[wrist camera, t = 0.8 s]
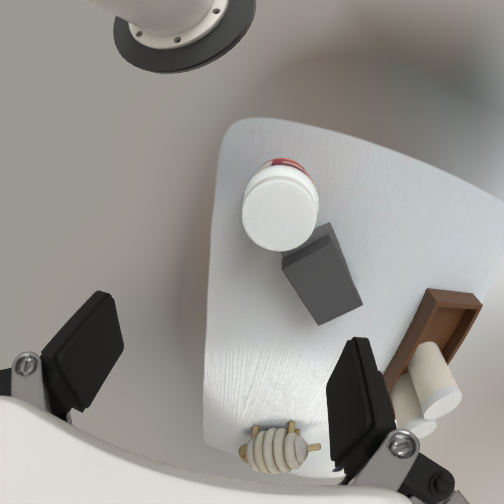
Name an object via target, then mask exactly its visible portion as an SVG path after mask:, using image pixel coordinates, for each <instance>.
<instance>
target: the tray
mask: <svg viewBox="0 0 504 504" xmlns="http://www.w3.org/2000/svg"><path fill="white" fill-rule="evenodd" d="M482 306H483V305H482V304H481V303H480V301H479V300H478V299H477V298H476V297H475V296H474V294H471V293H463V292H454V291H445V290H437V289H429V288H427V290H426V293H425V295H424V297H423V299H422V302H421V304H420V306H419V308H418V311H417V313H416V315H415V317H414V319H413V321H412V323H411V325H410V327H409V329H408V331H407V333H406V335H405V337H404V339H403V341H402V343H401V345H400V346H399V348H398V350H397V352H396V354H395V355H394V357H393V359H392V361H391V362H390V364H389V366H388V367H387V369H386V371H385V372H384V374H383V378H384V381H385V385H386V388H387V392H388V396H389V399H390V403H391V407H392V411H393V415H394V419H396V416H395V412H394V408H393V405H392V401H391V397H390V393H389V391H390V390H391V388H392V387H393V385H394V384H395V383H396V381H397V380H398V378H399V377H400V375H401V374H404V373H407V372H409V370H408V368H407V364H408V362H409V361H410V359H411V357H412V356H413V354H414V352H415V351H416V349H417V347H418V345H420V344H422V343H424V342H434V343H436V344H437V346H438V348H439V350H440V352H441V354H442V356H443V358H444V360H445V362H446V364H447V366H448V364H449V362H450V361H451V360H452V358H453V357H454V355H455V353H456V352H457V350H458V349H459V347H460V346H461V344H462V342H463V341H464V339H465V337H466V336H467V334H468V332H469V330H470V329H471V327H472V325H473V323H474V321H475V320H476V318H477V316H478V314H479V312H480V310H481V308H482Z"/></svg>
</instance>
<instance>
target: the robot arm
mask: <svg viewBox="0 0 504 504" xmlns="http://www.w3.org/2000/svg"><path fill="white" fill-rule="evenodd" d="M85 1H87V2H89V3H91V4H94V5H96V6H98V7H100V8H102V9H104V10H106V11H108V12H110V13H112V14H114V15H116V16H118V17H120V18H122V19H124V20H126V21H127V22H128V23H129V29H130V31H131V34H132V35H133V37H134V38H135V39H136V40H137V41H138V42H140V43H141V44H143V45H145V46H147V47H150V48H153V49H160V50H168V49H176V48H180V47H184V46H186V45H189V44H191V43H194V42H195V41H197V40H199V39H201V38H203V37H204V36H205V35H207V34H208V33H209V32H211V31H212V30H213V29H214V28H215V27H216V26H217V25H218V24H219V22H220V21H221V20H222V18H223V17H224V15H225V13H226V11H227V8H228V4H229V0H85ZM216 13H218V14H216ZM180 40H181V41H180ZM179 41H180V42H179ZM178 42H179V43H178ZM123 349H124V343H123V339H122V334H121V330H120V326H119V321H118V316H117V311H116V306H115V301H114V299H113V298H112V296H111V295H110V294H109V293H106V292H102V291H96V292H95V293H94V294H93V295H92V296H91V297H90V298H89V299H88V300H87V301H86V302H85V303H84V304H83V306H82V307H81V308H80V309H79V310H78V311H77V312H76V313H75V314H74V315H73V316H72V317H71V318H70V319H69V320H68V322H67V323H66V324H65V325H64V326H63V327H62V328H61V330H60V331H59V332H58V333H57V334H56V335H55V336H54V337H53V339H52V340H51V341H50V342H49V343H48V344H47V345H46V347H45V348H44V349H43V350H42V351H41V353H42V355H41V356H40V357H39V356H38V355H37V354H36V353H34V352H24V353H21V354H20V355H18V356H17V357H16V358H15V360H14V362H13V364H12V368H8V369H4V370H0V504H469V503H468V501H467V500H466V499H465V498H464V496H463V495H462V494H461V493H460V491H459V490H457V491H455V490H454V486H455V481H454V477H453V476H452V474H451V473H450V472H449V471H448V470H446V469H444V468H443V467H441V466H439V465H438V464H437V463H435V462H433V461H432V460H430V459H429V458H427V457H426V456H424V455H423V454H421V453H420V452H419V450H420V443H419V440H418V438H417V437H416V435H415V434H414V433H412V432H411V431H409V430H407V429H397V428H396V424H395V420H394V415H393V411H392V407H391V403H390V399H389V396H388V392H387V388H386V385H385V381H384V378H383V375H382V373H381V372H380V371H378V369H377V366H376V362H375V359H374V355H373V352H372V349H371V345H370V342H369V340H368V338H361V337H353V338H352V340H348V341H347V343H346V345H345V347H344V349H343V351H342V354H341V356H340V358H339V360H338V362H337V364H336V366H335V368H334V370H333V372H332V374H331V376H330V378H329V380H328V382H327V386H326V396H327V408H328V422H329V438H330V457H331V460H332V461H335V467H344V473H345V475H344V476H343V478H342V479H341V480H340V481H339V482H338V483H337V484H336V485H290V484H274V483H263V482H252V481H246V480H238V479H232V478H226V477H220V476H215V475H210V474H205V473H200V472H196V471H192V470H188V469H184V468H180V467H177V466H173V465H169V464H166V463H162V462H159V461H156V460H153V459H150V458H147V457H144V456H141V455H139V454H136V453H133V452H130V451H128V450H125V449H123V448H120V447H118V446H115V445H113V444H110V443H108V442H106V441H103V440H101V439H99V438H97V437H95V436H93V435H91V434H89V433H86V432H84V431H82V430H80V429H78V428H77V427H75V426H73V424H72V420H71V415H70V410H71V408H74V409H76V410H78V411H80V412H83V411H84V409H85V408H88V407H89V406H90V405H91V403H92V401H93V399H94V398H95V396H96V394H97V393H98V391H99V389H100V388H101V386H102V384H103V383H104V381H105V379H106V378H107V376H108V374H109V373H110V371H111V370H112V368H113V366H114V365H115V363H116V361H117V360H118V358H119V357H120V355H121V354H122V352H123Z"/></svg>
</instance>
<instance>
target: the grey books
mask: <svg viewBox="0 0 504 504" xmlns="http://www.w3.org/2000/svg"><path fill="white" fill-rule="evenodd" d="M281 253H282V255H283V257H284V258H283V259H282V271H283V272H284V274H285V275H286V277H287V278H288V280H289V281H290V283H291V284H292V286H293V287H294V289H295V291H296V292H297V294H298V295H299V297H300V298H301V300H302V301H303V303H304V304H305V306H306V307H307V309H308V311H309V312H310V314H311V315H312V317H313V318H314V320H315V321H316V323H317V325H318V326H319V325H321V324H323V323H326V322H328V321H330V320H332V319H334V318H337V317H339V316H341V315H343V314H345V313H347V312H349V311H351V310H354V309H356V308H358V307H360V306H362V305H363V303H362V300H361V298H360V295H359V293H358V291H357V289H356V286H355V284H354V282H353V280H352V278H351V275H350V272H349V270H348V267H347V264H346V261H345V259H344V256H343V253H342V251H341V248H340V245H339V243H338V240H337V238H336V235H335V233H334V230H333V228H332V226H331V224H330V223H328V224H325V225H323V226H321V227H318V228H316V229H314V230H313V232H312V234H311V236H310V237H309V238H308V239H307V240H306V241H305V242H304V243H303V244H302V245H300V246H298V247H297V248H294V249H292V250H288V251H281Z"/></svg>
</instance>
